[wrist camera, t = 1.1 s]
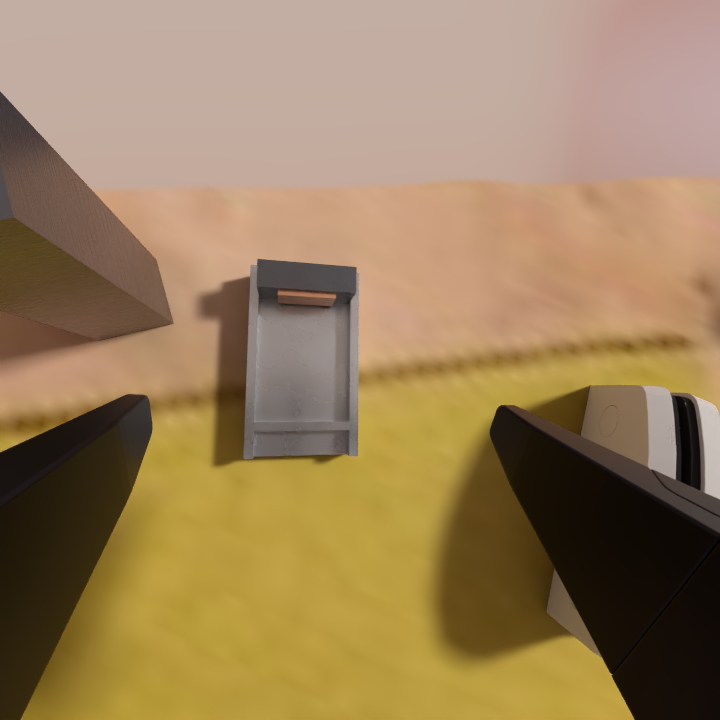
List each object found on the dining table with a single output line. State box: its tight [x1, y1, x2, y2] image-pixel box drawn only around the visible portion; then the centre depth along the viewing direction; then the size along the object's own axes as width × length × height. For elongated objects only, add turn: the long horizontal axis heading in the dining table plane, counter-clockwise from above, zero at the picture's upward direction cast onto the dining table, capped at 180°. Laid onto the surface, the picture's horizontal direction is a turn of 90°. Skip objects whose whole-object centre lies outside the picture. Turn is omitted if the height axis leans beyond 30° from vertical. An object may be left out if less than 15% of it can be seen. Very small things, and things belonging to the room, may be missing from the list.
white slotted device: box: [546, 385, 720, 657], centre depth 22 cm, size 17×5×10 cm, turn 163°
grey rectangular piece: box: [243, 259, 359, 459], centre depth 21 cm, size 11×6×4 cm, turn 179°
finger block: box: [0, 92, 173, 340], centre depth 15 cm, size 4×4×13 cm
